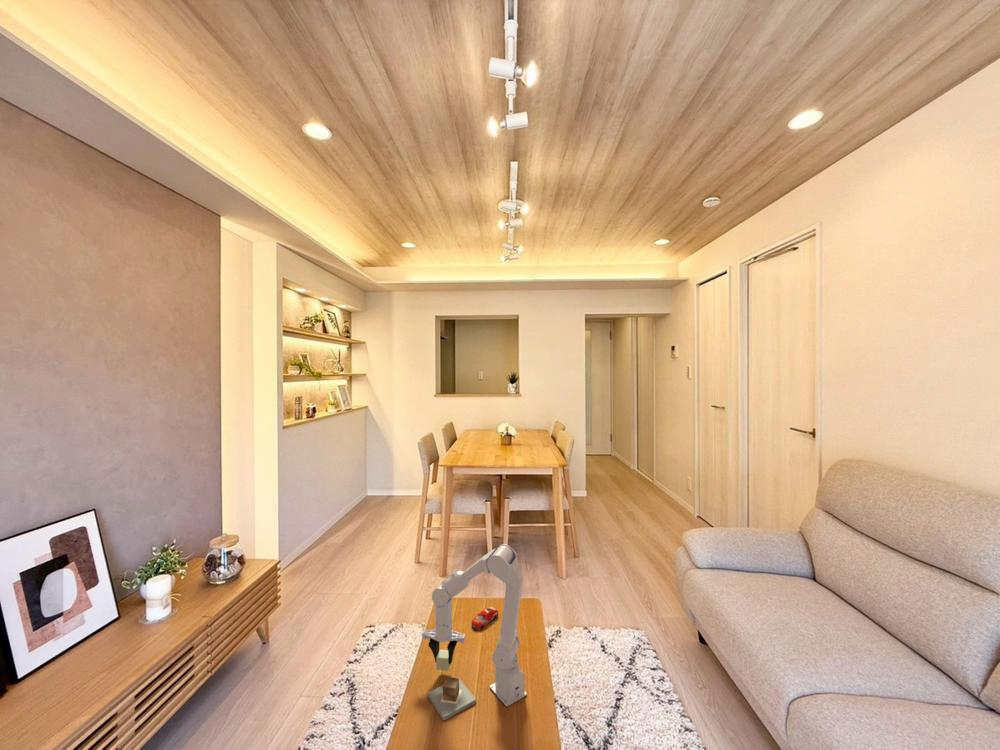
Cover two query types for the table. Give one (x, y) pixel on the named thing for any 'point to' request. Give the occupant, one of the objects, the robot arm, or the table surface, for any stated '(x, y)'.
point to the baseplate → (451, 707)
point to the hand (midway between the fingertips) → (443, 661)
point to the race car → (484, 618)
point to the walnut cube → (451, 689)
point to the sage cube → (442, 660)
